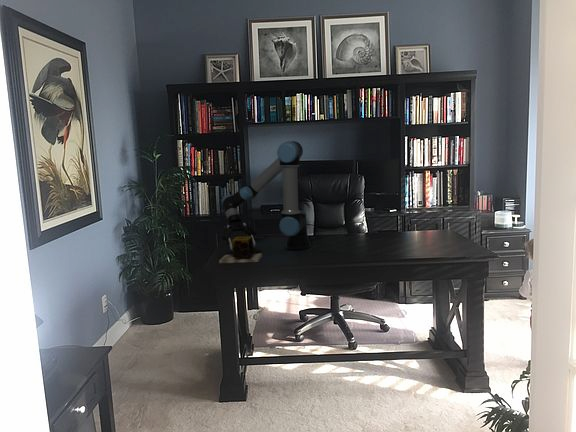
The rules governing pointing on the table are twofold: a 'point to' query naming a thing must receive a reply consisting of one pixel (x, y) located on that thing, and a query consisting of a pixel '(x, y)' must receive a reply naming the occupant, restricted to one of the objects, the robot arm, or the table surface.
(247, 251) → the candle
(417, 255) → the table surface
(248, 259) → the birch board
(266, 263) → the table surface
